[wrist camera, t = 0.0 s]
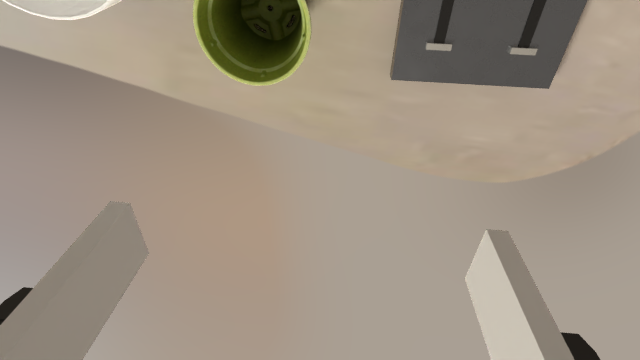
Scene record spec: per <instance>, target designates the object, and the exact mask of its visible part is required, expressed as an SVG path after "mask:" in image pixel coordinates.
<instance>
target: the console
mask: <svg viewBox="0 0 640 360" xmlns="http://www.w3.org/2000/svg"><path fill="white" fill-rule="evenodd" d="M586 2H587V0H401V6H400V13H399V19H398V26H397V32H396V39H395V46H394V52H393V59H392V65H391V72H390V77H391V80H404V81H422V82H440V83H458V84H475V85H493V86H511V87H529V88H547V89H549V87H550V85H551V82H552V80H553V78H554V75H555V73H556V71H557V69H558V66H559V64H560V62H561V59H562V57H563V55H564V53H565V50H566V48H567V46H568V43H569V41H570V39H571V36H572V34H573V32H574V30H575V27H576V25H577V23H578V20H579V18H580V16H581V13H582V11H583V9H584V7H585V4H586Z"/></svg>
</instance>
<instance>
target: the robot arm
mask: <svg viewBox="0 0 640 360" xmlns="http://www.w3.org/2000/svg"><path fill="white" fill-rule="evenodd" d="M148 254H149V252H148V249H147V246H146V244H145V241H144V238H143V236H142V233H141V230H140V228H139V225H138V222H137V220H136V217H135V215H134V212H133V209H132V207H131V204H130V203H123V202H109V203H108V205H107V206H106V207H105V208H104V210H102V211H101V213H100V214H99V215H98V216H97V217H96V218H95V219H94V220H93V222H92V223H91V224H90V225H89V226H88V227H87V228H86V229H85V231H84V232H83V233H82V234H81V235H80V236H79V237H78V238H77V240H76V241H75V242H74V243H73V244H72V245H71V246H70V248H69V249H68V250H67V251H66V252H65V253H64V254H63V255H62V256H61V258H60V259H59V260H58V261H57V262H56V263H55V265H53V267H52V268H51V269H50V270H49V271H48V272H47V273H46V275H45V276H44V277H43V278H42V279H41V280H40V281H39V282H38V284H37V285H36V286H35V287H34V288H25V287H24V288H22V289H21V290H19V291H18V292H16V293H15V294H13V295H12V296H11V297H10V298H8V299H6V300H5V301H4V302H3V303H2V304H1V305H0V360H83V358H84V356H85V355H86V353H87V352H88V350H89V349H90V347H91V345H92V344H93V342H94V341H95V339H96V337H97V336H98V334H99V333H100V331H101V329H102V328H103V326H104V325H105V323H106V321H107V320H108V318H109V317H110V315H111V313H112V312H113V310H114V309H115V307H116V305H117V304H118V302H119V301H120V299H121V297H122V296H123V294H124V293H125V291H126V289H127V288H128V286H129V285H130V283H131V281H132V280H133V278H134V277H135V275H136V273H137V272H138V270H139V269H140V267H141V265H142V264H143V262H144V261H145V259H146V257H147V256H148ZM465 280H466V283H467V286H468V290H469V293H470V295H471V299H472V302H473V305H474V308H475V311H476V314H477V317H478V321H479V324H480V327H481V330H482V333H483V336H484V339H485V342H486V345H487V348H488V352H489V355H490V357H491V360H600V359H599V357H598V355H597V353H596V352H595V351H594V350H593V349H592V348H591V347H590V346H589V345H588V344H587V343H586V341H585V340H583V338H582V337H581V336H580V335H579V334H572V333H561V332H560V331H559V329H558V327H557V325H556V323H555V321H554V319H553V317H552V315H551V313H550V311H549V309H548V308H547V305H546V304H545V302H544V300H543V298H542V296H541V294H540V292H539V290H538V288H537V286H536V284H535V282H534V280H533V278H532V276H531V275H530V273H529V271H528V269H527V267H526V265H525V263H524V261H523V259H522V257H521V255H520V253H519V251H518V249H517V247H516V245H515V244H514V242H513V240H512V238H511V236H510V234H509V232H508V231H502V230H488V229H486V231H485V233H484V236H483V238H482V241H481V243H480V245H479V247H478V250H477V252H476V254H475V257H474V259H473V261H472V264H471V266H470V268H469V270H468V273H467V275H466V277H465Z"/></svg>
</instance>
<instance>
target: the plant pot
mask: <svg viewBox="0 0 640 360" xmlns="http://www.w3.org/2000/svg"><path fill="white" fill-rule="evenodd" d="M269 5H270V6H272V7H273V10H272V11H269V10H268V6H269ZM293 15H294V16H295V21H294V22H293V24H292V26H291V27H289V28H287V25H288V23H289V22H290V20H291V18H292V16H293ZM193 22H194V28H195V32H196V36H197V39H198V41H199V43H200V46H201V47H202V49H203V51H204V52H205V54H206V55H207V57H208V58H209V59H210V61H211V62H212V63H213V64H214V65H215V66H216V67H217V68H218V69H219V70H220V71H221V72H223V73H224V74H226V75H227V76H229V77H230V78H232V79H234V80H236V81H239V82H242V83H245V84H249V85H254V86H259V85H260V86H263V85H271V84H275V83H278V82H280V81H282V80H284V79H286V78H288V77H289V76H290V75H292V74H293V73H294V72H295V71H296V70H297V69H298V67H299V66H300V65H301V63H302V62H303V60H304V58H305V56H306V53H307V51H308V47H309V44H310V39H311V18H310V13H309V9H308V6H307V3H306V0H194V4H193ZM254 24H257V25H258V26H260V27H261V28H262V29H264V30H266V33H263V32H262V31H260V30H258V29H257V28H256V27H255V26H254Z"/></svg>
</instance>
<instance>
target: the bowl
mask: <svg viewBox="0 0 640 360" xmlns="http://www.w3.org/2000/svg"><path fill="white" fill-rule="evenodd" d="M2 1H4V2H6V3H7V4H9V5H11V6H14V7H16V8H18V9H21V10H23V11H25V12H28V13H30V14H33V15H38V16H42V17H46V18H50V19H60V20H75V19H80V18H85V17H90V16H92V15H94V14H96V13H98V12H100V11H103V10H105V9H107V8H109V7H111V6H113V5H115V4H117V3H119V2H121V1H122V0H2Z"/></svg>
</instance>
